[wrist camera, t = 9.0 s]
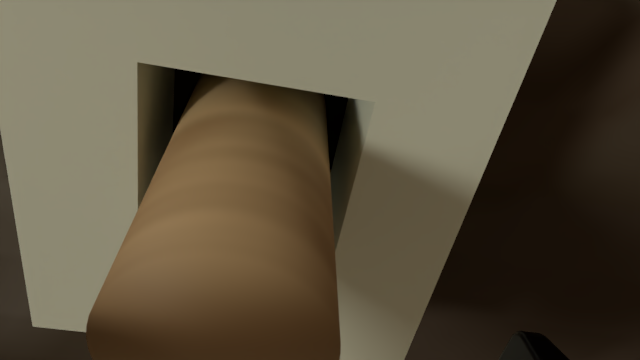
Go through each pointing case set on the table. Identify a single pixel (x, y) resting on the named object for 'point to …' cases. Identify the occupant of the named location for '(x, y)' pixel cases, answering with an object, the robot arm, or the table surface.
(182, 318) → the peg
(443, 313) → the table surface
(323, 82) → the socket block
